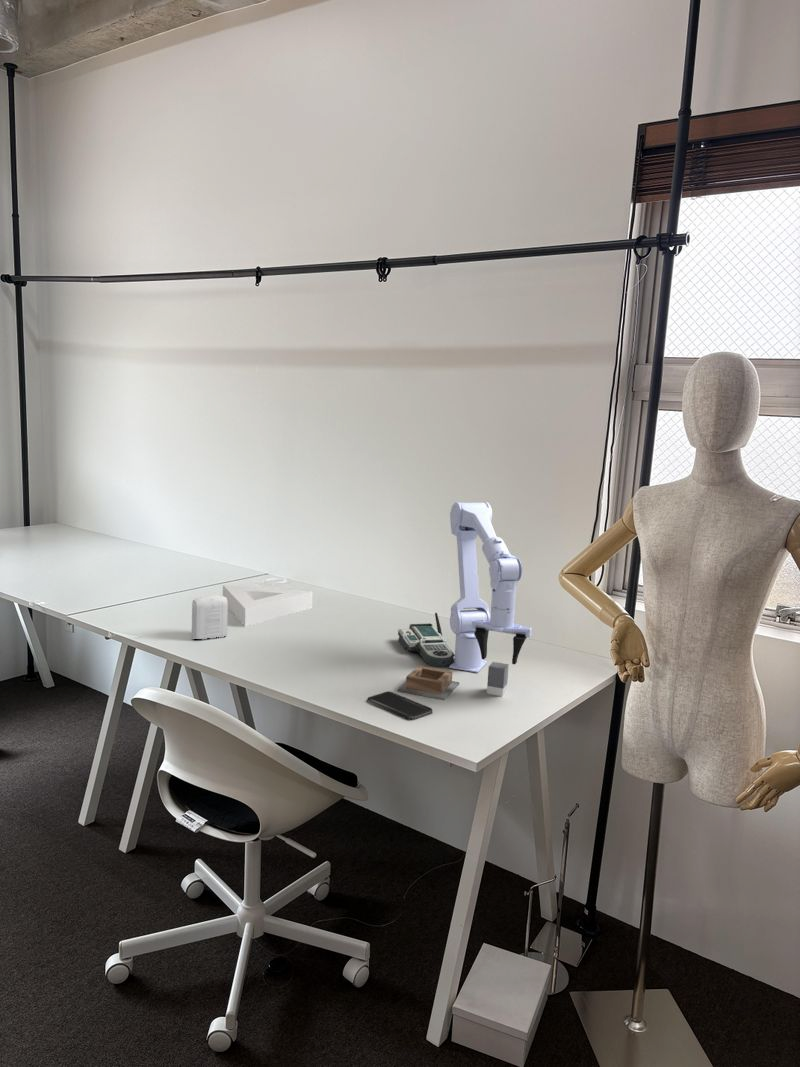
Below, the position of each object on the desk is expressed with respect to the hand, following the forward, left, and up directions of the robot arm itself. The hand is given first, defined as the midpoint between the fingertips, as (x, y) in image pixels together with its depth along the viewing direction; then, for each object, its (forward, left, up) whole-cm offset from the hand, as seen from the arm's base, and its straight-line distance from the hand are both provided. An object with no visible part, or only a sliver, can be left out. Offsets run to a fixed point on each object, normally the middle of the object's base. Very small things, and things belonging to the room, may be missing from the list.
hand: (499, 660), depth 206 cm
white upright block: (-3, -85, -8) cm, 85 cm away
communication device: (-20, -25, -9) cm, 34 cm away
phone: (+20, -18, -9) cm, 28 cm away
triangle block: (-29, -85, -9) cm, 90 cm away
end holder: (+5, -16, -8) cm, 19 cm away
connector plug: (0, 0, -8) cm, 8 cm away
